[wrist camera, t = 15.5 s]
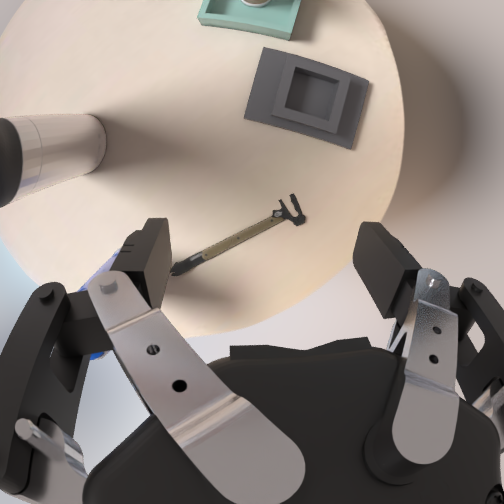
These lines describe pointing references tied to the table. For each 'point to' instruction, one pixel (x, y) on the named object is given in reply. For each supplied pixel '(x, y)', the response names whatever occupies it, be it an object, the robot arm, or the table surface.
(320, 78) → the grey square socket stand
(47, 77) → the table surface
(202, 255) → the claw hammer
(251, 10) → the parts tray
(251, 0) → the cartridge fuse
